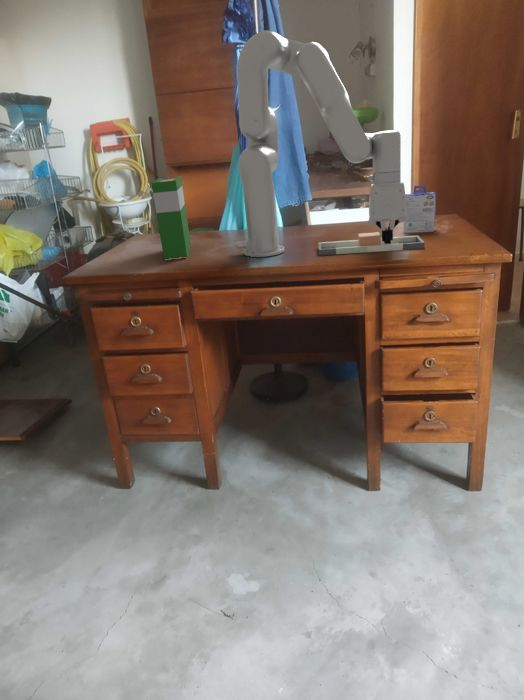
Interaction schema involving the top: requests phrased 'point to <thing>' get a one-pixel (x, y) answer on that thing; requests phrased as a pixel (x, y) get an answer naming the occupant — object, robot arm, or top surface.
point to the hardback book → (171, 217)
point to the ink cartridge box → (420, 211)
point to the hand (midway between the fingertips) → (387, 242)
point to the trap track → (354, 247)
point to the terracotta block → (369, 239)
